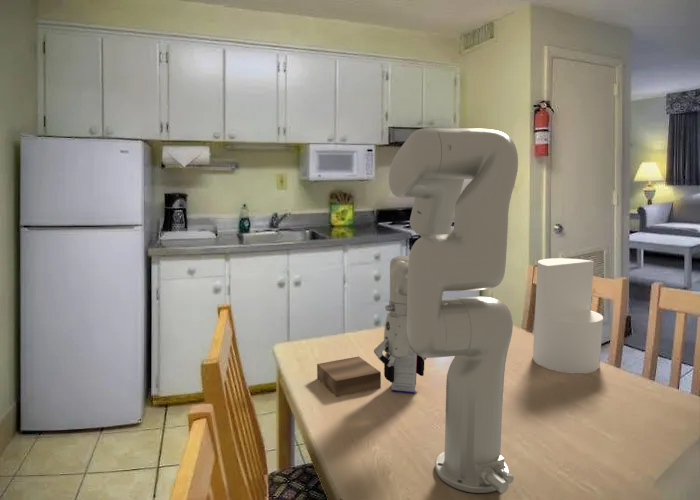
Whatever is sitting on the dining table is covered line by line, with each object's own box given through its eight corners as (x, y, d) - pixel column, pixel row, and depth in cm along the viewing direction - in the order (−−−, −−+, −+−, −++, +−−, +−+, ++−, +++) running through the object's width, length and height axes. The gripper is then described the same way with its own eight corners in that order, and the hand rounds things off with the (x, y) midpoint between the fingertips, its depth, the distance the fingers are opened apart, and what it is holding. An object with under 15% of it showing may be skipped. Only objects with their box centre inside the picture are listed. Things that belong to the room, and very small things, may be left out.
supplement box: (415, 394, 119) (416, 348, 117) (390, 392, 120) (391, 346, 118) (417, 384, 125) (417, 340, 123) (393, 382, 126) (393, 339, 124)
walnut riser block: (380, 387, 123) (380, 372, 122) (336, 397, 118) (336, 381, 117) (358, 370, 134) (358, 356, 133) (317, 378, 128) (317, 363, 128)
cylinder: (519, 356, 144) (524, 260, 140) (563, 347, 151) (568, 256, 147) (568, 378, 128) (574, 271, 124) (614, 367, 135) (622, 266, 131)
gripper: (381, 316, 112) (381, 389, 115) (444, 307, 120) (442, 376, 122) (365, 308, 119) (365, 378, 122) (426, 300, 126) (425, 365, 129)
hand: (404, 376), depth 122 cm, fingers closed on supplement box, 7 cm apart
